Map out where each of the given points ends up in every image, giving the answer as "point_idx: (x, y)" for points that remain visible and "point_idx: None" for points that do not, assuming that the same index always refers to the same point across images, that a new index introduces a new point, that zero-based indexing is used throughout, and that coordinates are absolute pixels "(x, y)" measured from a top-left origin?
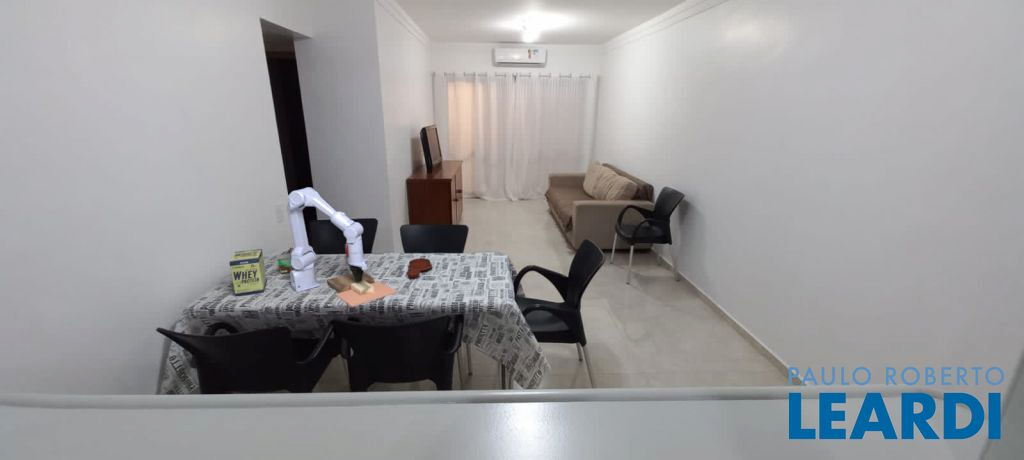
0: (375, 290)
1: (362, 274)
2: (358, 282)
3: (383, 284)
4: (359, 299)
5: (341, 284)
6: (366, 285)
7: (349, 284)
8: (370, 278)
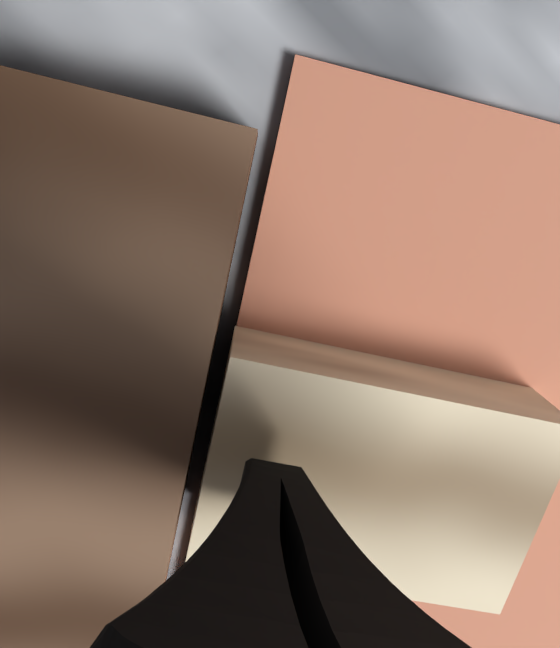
0: (526, 354)
1: (354, 549)
2: (231, 462)
3: (473, 118)
4: (537, 615)
5: (51, 610)
6: (458, 472)
7: (153, 552)
8: (218, 192)
